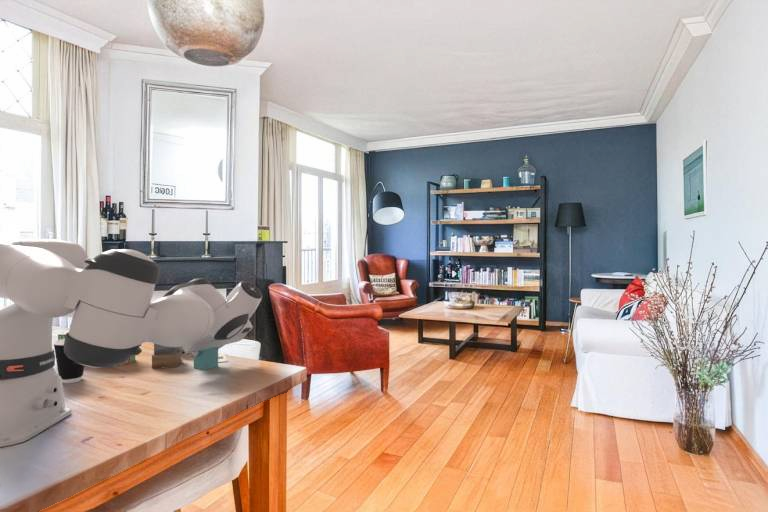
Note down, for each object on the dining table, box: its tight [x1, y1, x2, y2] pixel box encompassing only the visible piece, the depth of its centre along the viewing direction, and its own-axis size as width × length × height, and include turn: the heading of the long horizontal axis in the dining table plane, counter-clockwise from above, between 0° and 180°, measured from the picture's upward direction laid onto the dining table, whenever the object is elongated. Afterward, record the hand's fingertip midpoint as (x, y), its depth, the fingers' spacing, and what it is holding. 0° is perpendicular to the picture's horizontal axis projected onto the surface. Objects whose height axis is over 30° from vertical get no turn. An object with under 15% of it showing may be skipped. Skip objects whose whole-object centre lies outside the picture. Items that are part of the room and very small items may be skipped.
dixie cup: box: [52, 339, 85, 384], centre depth 124 cm, size 8×8×11 cm
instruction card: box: [218, 353, 228, 364], centre depth 147 cm, size 10×8×1 cm
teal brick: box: [193, 346, 219, 371], centre depth 137 cm, size 5×5×8 cm
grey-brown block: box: [151, 343, 183, 369], centre depth 139 cm, size 7×7×8 cm
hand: (204, 352), depth 138 cm, fingers closed on teal brick, 5 cm apart
